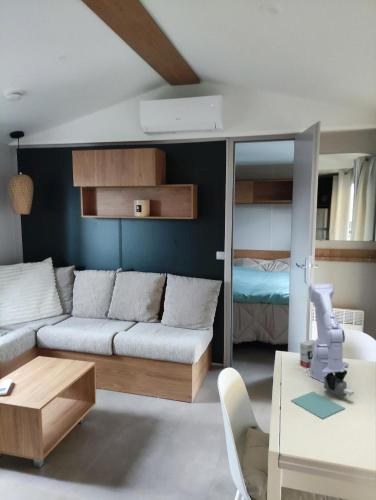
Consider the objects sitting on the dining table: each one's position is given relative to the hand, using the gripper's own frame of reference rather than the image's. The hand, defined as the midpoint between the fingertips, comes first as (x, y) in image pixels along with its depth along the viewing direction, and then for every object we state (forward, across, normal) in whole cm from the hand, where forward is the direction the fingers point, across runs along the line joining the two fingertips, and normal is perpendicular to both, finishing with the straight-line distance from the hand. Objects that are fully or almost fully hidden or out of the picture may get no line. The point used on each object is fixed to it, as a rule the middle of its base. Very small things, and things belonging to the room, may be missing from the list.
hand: (335, 387), depth 153 cm
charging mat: (+3, -12, -1) cm, 13 cm away
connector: (+1, 0, -2) cm, 2 cm away
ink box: (+4, +15, +27) cm, 31 cm away
